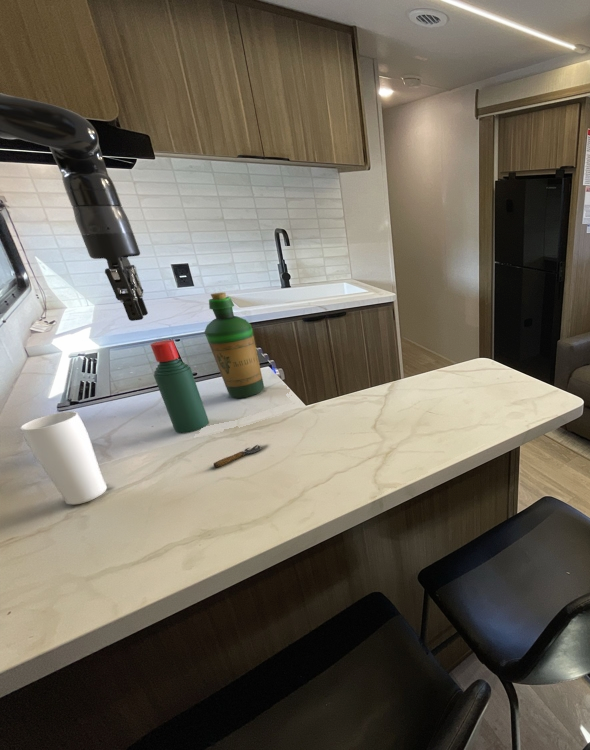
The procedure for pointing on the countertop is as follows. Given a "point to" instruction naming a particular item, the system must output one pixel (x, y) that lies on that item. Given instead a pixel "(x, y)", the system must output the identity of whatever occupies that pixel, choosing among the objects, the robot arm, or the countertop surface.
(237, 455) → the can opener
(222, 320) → the bottle
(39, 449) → the white cup
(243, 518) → the countertop surface
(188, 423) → the bottle
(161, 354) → the cap
